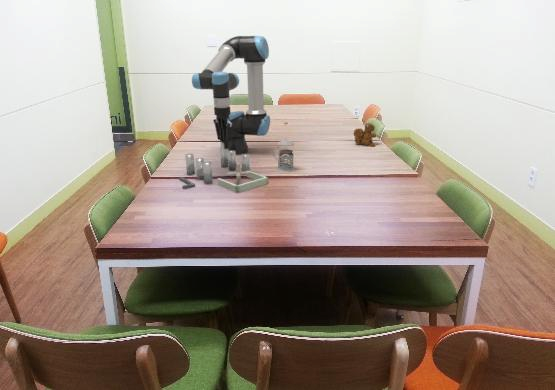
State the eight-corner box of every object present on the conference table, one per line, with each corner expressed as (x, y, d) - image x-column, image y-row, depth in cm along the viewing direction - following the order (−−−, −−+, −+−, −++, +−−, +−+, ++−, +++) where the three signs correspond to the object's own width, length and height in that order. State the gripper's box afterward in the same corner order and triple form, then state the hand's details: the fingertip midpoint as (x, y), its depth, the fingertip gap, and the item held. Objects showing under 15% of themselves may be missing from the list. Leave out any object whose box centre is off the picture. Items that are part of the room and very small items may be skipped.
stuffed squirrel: (376, 146, 275) (377, 125, 270) (352, 146, 277) (353, 125, 272) (375, 142, 284) (376, 122, 279) (352, 142, 286) (353, 121, 281)
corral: (248, 176, 224) (248, 170, 223) (268, 183, 213) (268, 177, 212) (217, 184, 212) (217, 178, 211) (237, 192, 202) (236, 186, 200)
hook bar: (170, 181, 217) (170, 178, 217) (181, 179, 220) (181, 176, 220) (183, 189, 207) (183, 186, 206) (195, 186, 210) (195, 184, 209)
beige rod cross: (228, 188, 208) (227, 167, 204) (227, 180, 217) (226, 160, 213) (250, 187, 209) (249, 166, 205) (248, 179, 218) (247, 159, 214)
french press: (293, 172, 228) (293, 123, 219) (271, 171, 230) (270, 123, 222) (296, 167, 237) (297, 119, 228) (275, 165, 239) (274, 119, 231)
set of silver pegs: (224, 164, 243) (223, 146, 240) (251, 173, 227) (251, 154, 224) (182, 174, 227) (181, 155, 224) (208, 185, 211) (207, 165, 208)
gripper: (207, 105, 212) (211, 153, 221) (223, 109, 203) (227, 159, 212) (220, 103, 217) (223, 150, 226) (236, 107, 208) (239, 156, 217)
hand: (225, 154), depth 219 cm, fingers closed
